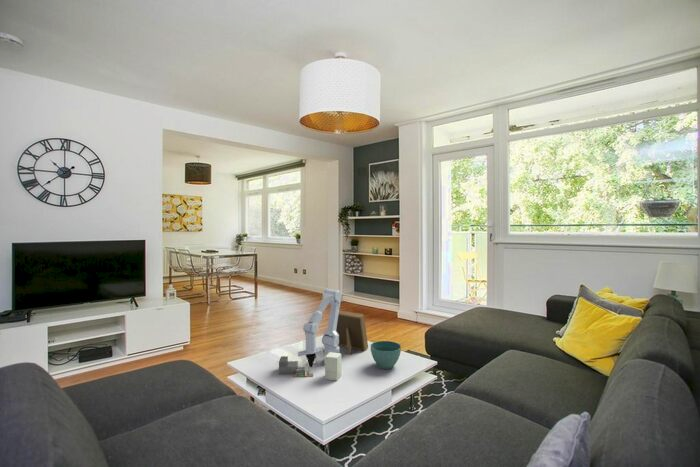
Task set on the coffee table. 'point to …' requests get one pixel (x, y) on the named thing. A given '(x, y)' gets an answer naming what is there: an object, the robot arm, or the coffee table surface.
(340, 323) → the photo frame
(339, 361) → the supplement box
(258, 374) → the coffee table surface
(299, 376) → the gauge scale
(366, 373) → the coffee table surface
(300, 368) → the gauge plunger
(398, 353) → the teal rounded bowl
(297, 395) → the coffee table surface
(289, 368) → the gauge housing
